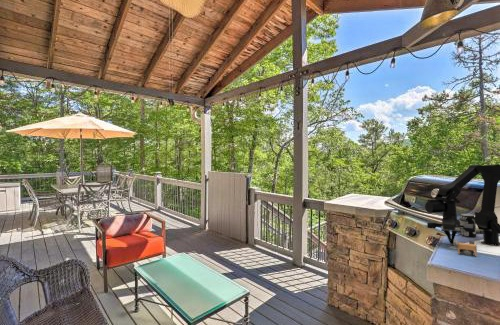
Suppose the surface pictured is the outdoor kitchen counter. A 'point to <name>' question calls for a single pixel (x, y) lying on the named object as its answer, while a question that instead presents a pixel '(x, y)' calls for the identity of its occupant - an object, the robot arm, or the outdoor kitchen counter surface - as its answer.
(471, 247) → the orange u-shaped block
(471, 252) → the arm
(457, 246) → the tongs free arm
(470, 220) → the beverage can
